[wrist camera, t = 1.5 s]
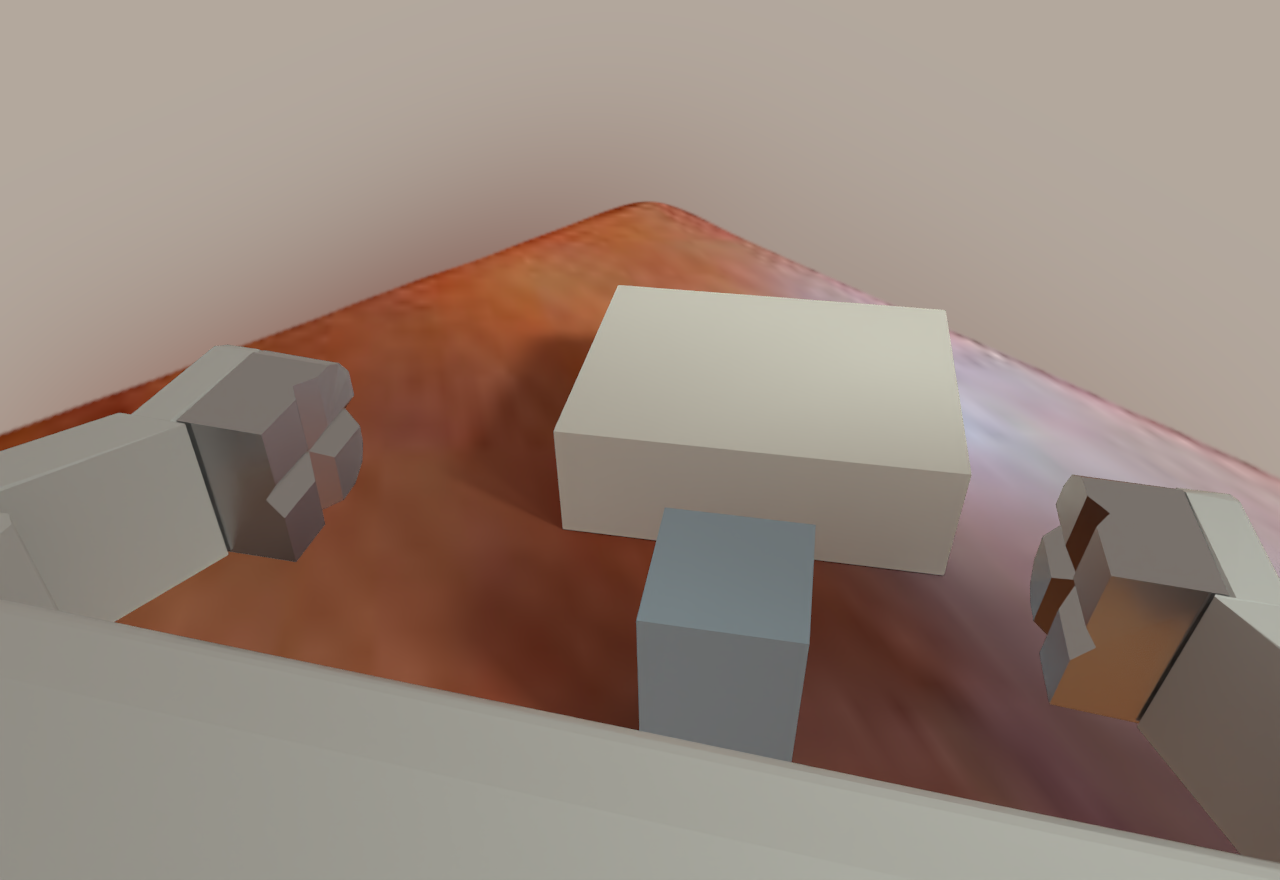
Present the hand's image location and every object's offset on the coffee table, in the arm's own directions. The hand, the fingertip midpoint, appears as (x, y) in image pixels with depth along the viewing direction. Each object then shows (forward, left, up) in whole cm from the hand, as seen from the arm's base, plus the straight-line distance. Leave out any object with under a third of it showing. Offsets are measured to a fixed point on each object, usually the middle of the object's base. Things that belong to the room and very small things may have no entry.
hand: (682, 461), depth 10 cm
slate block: (0, -12, -24) cm, 26 cm away
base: (0, -30, -24) cm, 38 cm away
